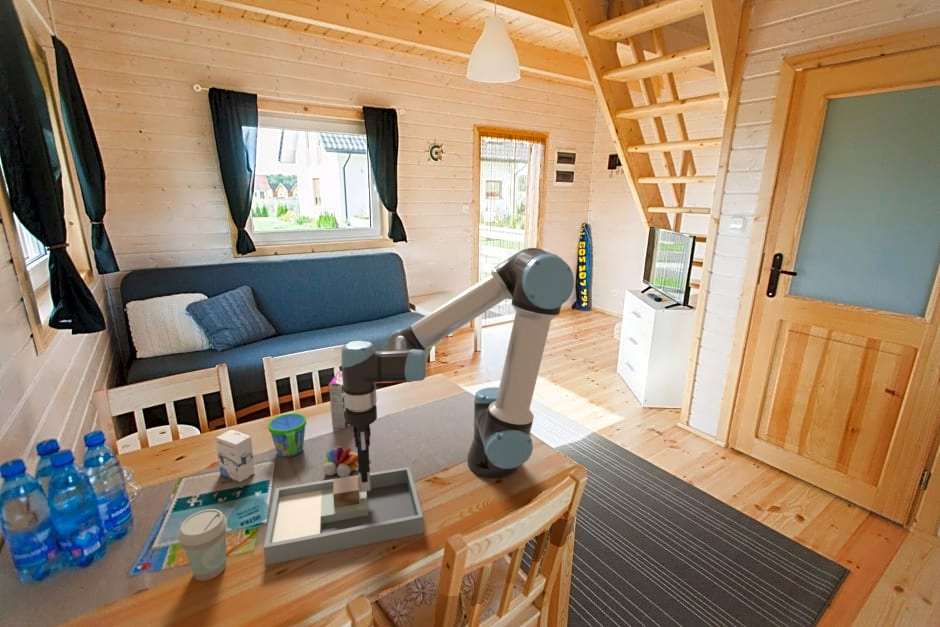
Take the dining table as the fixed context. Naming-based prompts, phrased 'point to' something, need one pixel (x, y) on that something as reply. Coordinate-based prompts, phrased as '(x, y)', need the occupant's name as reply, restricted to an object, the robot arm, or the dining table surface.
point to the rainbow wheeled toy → (340, 462)
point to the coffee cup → (205, 543)
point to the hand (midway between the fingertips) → (364, 489)
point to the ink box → (235, 455)
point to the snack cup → (288, 434)
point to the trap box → (341, 517)
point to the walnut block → (346, 491)
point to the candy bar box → (337, 402)
